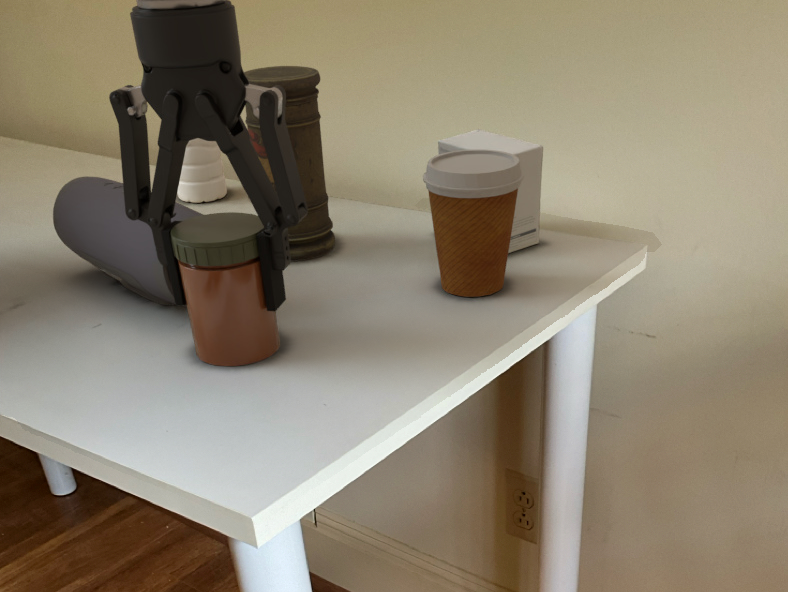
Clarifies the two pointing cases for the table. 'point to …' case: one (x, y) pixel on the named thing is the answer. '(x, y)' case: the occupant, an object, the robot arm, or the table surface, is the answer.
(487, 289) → the disposable coffee cup
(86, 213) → the bluetooth speaker
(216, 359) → the jar
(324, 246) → the container
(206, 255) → the lid
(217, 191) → the water bottle
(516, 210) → the cosmetics box
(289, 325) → the table surface
